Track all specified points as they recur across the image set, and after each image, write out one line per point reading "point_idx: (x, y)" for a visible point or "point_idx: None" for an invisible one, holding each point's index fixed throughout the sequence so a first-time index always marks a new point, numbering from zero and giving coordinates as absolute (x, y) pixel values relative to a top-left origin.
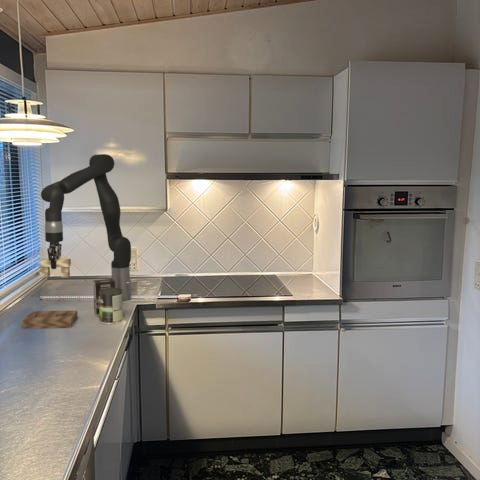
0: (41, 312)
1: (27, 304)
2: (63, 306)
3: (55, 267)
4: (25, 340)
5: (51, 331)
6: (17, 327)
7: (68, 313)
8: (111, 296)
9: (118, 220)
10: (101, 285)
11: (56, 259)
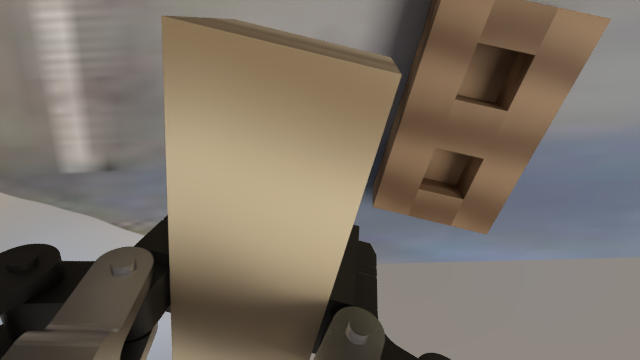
0: (406, 171)
1: None
2: None
3: (356, 238)
4: (628, 201)
5: (574, 112)
6: (446, 229)
7: (486, 38)
8: None
9: None
10: None
11: (230, 292)
